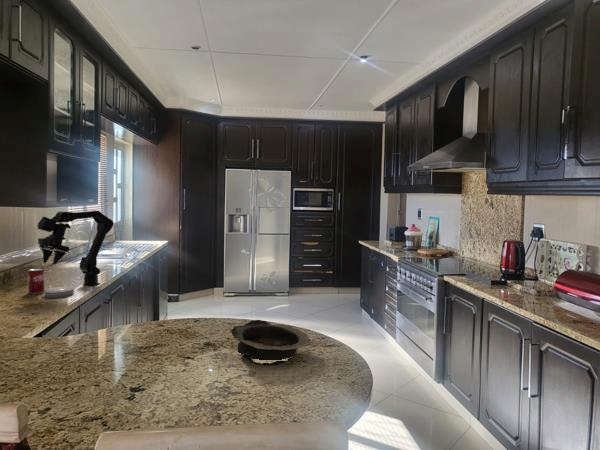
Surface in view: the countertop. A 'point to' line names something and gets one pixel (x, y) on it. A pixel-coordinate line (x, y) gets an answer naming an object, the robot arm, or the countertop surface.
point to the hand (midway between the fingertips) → (49, 263)
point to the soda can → (36, 281)
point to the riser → (59, 292)
